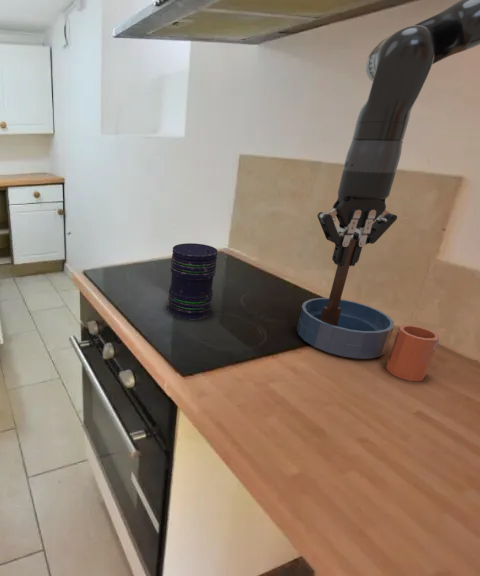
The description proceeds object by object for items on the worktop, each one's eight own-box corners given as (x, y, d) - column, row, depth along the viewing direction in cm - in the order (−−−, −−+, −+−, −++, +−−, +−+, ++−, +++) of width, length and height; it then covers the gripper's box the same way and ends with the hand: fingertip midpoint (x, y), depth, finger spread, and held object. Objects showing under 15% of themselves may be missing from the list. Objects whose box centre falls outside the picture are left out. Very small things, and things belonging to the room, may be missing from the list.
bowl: (352, 322, 83) (359, 297, 81) (404, 361, 69) (415, 332, 67) (283, 322, 83) (288, 297, 81) (321, 361, 69) (328, 332, 67)
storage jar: (160, 312, 88) (164, 250, 82) (177, 298, 96) (182, 241, 90) (202, 323, 83) (209, 258, 77) (216, 307, 90) (224, 247, 85)
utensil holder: (408, 364, 68) (422, 324, 65) (431, 381, 64) (448, 340, 61) (379, 364, 68) (392, 324, 65) (400, 381, 64) (415, 340, 61)
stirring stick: (333, 324, 77) (356, 237, 70) (337, 327, 76) (361, 239, 69) (318, 324, 77) (340, 237, 70) (322, 327, 76) (344, 239, 69)
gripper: (342, 170, 61) (318, 271, 68) (427, 170, 61) (394, 271, 68) (317, 166, 68) (297, 258, 75) (393, 166, 68) (367, 258, 75)
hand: (344, 264), depth 71 cm, fingers closed on stirring stick, 1 cm apart
